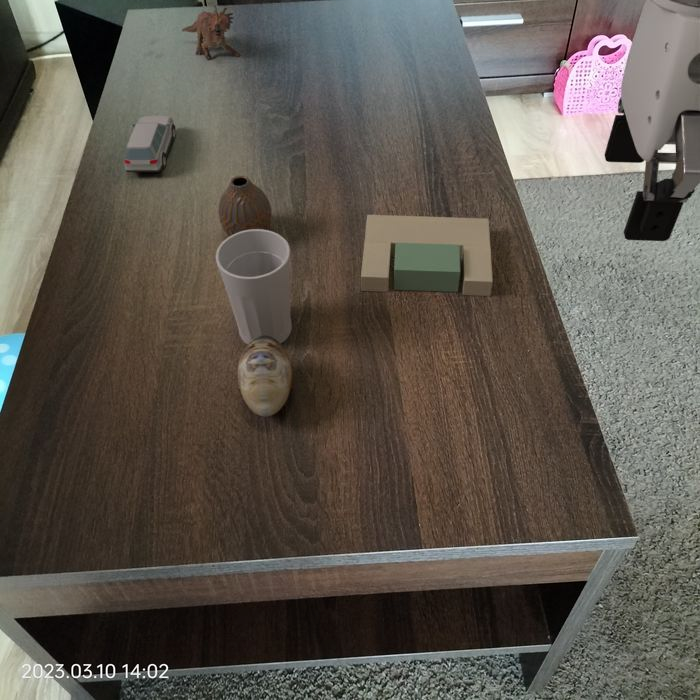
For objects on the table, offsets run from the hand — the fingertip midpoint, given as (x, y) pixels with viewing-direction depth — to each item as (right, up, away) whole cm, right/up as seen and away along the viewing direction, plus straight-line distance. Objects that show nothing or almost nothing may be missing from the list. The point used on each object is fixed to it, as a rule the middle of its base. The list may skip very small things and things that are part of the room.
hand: (633, 197), depth 57 cm
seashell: (-31, -17, +24) cm, 43 cm away
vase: (-36, +4, +42) cm, 55 cm away
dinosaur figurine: (-47, +42, +76) cm, 98 cm away
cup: (-32, -9, +31) cm, 45 cm away
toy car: (-52, +18, +55) cm, 78 cm away
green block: (-13, -3, +35) cm, 38 cm away
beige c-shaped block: (-12, 0, +37) cm, 39 cm away
